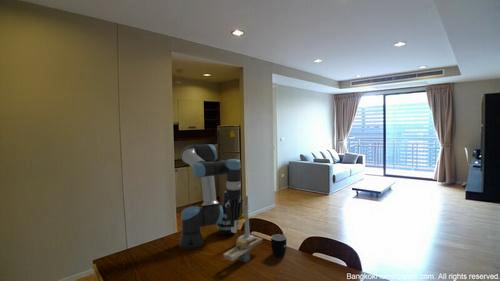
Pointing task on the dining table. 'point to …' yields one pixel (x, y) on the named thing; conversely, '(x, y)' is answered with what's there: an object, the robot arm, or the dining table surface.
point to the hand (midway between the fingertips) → (233, 232)
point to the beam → (242, 250)
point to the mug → (278, 245)
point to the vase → (225, 219)
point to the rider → (243, 243)
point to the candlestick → (246, 222)
